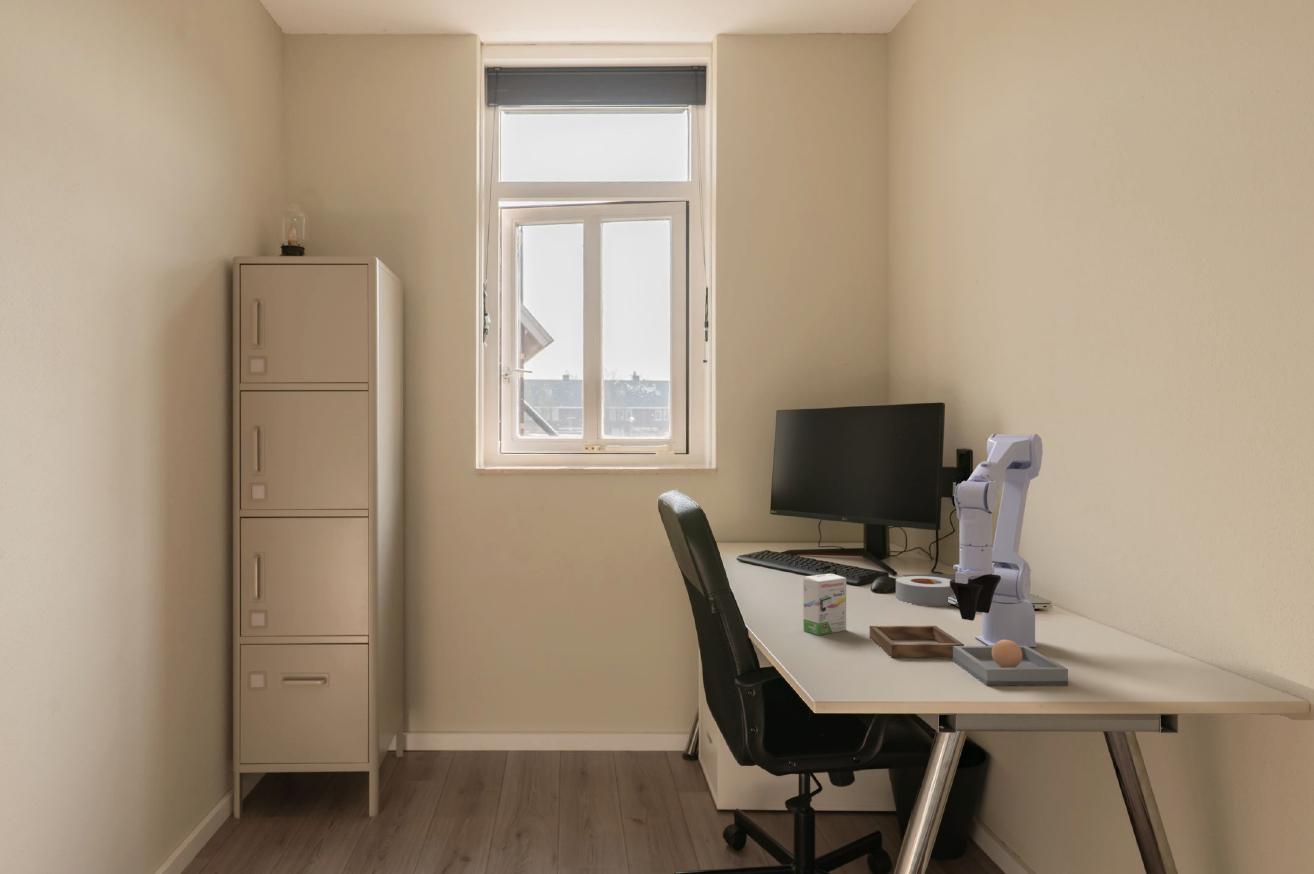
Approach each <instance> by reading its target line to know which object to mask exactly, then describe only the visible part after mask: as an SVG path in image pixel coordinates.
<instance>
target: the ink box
mask: <svg viewBox="0 0 1314 874" xmlns="http://www.w3.org/2000/svg"><path fill="white" fill-rule="evenodd" d="M802 585H803V588H802V589H803V592H802V593H803V597H802V598H803V599H802V600H803V602H802V603H803V604H802V605H803V612H802V613H803V617H802V618H803V631H804V632H807V633H810V634H813V635H817V636H822V634H823V635H829V634H834V633H837V632H838V631H839V632H844V631H847V577H844V576H842V575H838V574H835V573H825V574H815V575H807V576H805V577H803V583H802ZM839 632H838V633H839Z"/></svg>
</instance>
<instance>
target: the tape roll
mask: <svg viewBox="0 0 1314 874" xmlns="http://www.w3.org/2000/svg"><path fill="white" fill-rule="evenodd" d="M950 580H951V578H950V579H949V578H944V577H939V576H927V575H911V576H900V577H897V578H896V579H895V599H896V598H897V599H898V600H897V599H896V600H897V601H899V600H900V601H899V602H901V601H903V602H902V603H904V602H907V603H906V604H908V603H913V604H912V605H914V604H917V605H916V606H921V605H928V606H927V607H949V606H948V605H949V602H948V597H950V596H951V595H954V592H953V590H952V588H951V587H950Z"/></svg>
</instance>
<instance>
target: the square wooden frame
mask: <svg viewBox="0 0 1314 874" xmlns="http://www.w3.org/2000/svg"><path fill="white" fill-rule="evenodd" d="M911 638H912V639H911ZM913 638H915V639H913ZM916 638H917V639H916ZM869 639H870V640H871V639H872V640H871V641H873V642H874V643H875V644H876V645H877V646H878V645H879V646H878V647H879V648H880V647H881V648H882V649H883V650H882V651H883V652H885V653H886V654H887V655H888V654H889V655H888V656H889V657H890V656H891V657H953V646H965V644H964V643H962V642H961V641H960V640H958V639H957V638H955V637H953V636H952V635H951V634H949V633H948V632H946V631H944V630H943V629H941V628H940V627H938V626H937V625H869ZM893 640H934V641H935V640H936V641H935V642H932V643H931V642H927V643H925V642H924V643H923V642H919V643H918V642H917V643H916V642H915V643H914V642H913V643H911V642H910V643H907V642H905V643H904V642H902V643H898V642H897V643H895V642H894V641H893ZM881 648H880V649H881ZM891 657H890V658H891Z"/></svg>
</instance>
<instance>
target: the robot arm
mask: <svg viewBox="0 0 1314 874" xmlns="http://www.w3.org/2000/svg"><path fill="white" fill-rule="evenodd" d="M1043 452H1044V451H1043V442H1042V438H1041V436H1040V435H1039V434H1038V433H1032V434H1025V433H1024V434H1021V433H1020V434H1017V433H1015V434H1012V433H1011V434H1009V433H1006V434H1001V433H999V434H998V433H992V434H991V435H989V436H988V439H987V442H986V454H987V459H986V460H985V461H983V460H982V461H981V462H980V463H979V464H978V465H977V466H976V467H975V469H974V470H973V472H972V473H971V474H970V476H969V478H968V479H967V480H963V481H961V483H958V484H957V485H956V486H955V488H954V489H955V490H954V497H953V498H954V504H955V505H954V506H955V509H956V517H957V518H956V519H957V520H959V531H958V532H959V541H958V543H959V545H958V546H959V563H958V564H953V566H952V568H953V569H954V570H957V571H955V579H950V587H951V588H952V590H953V592H954V594H955V596H956V599H957V602H958V603H957V605H958V609H959V613H960V617H961V619H962V620H965V621H971V622H973V621H975V618H976V615H977V612H978V613H982V616H981V617H982V619H981V624H982V625H981V626H982V627H981V633H982V634H974V638H975V639H977V640H979V641H980V642H982V643H984V644H985V645H986V646H994V644H995V643H997V642H998V641H1000V640H1010V641H1013V642H1015V643H1016V644H1017V645H1018V646H1028V647H1029V648H1037V647H1038V644H1036V611H1035V608H1034V605H1033V603H1031V601H1030V600H1028V597H1029V595H1030V592H1031V584H1032V583H1031V582H1032V581H1031V571H1032V569H1031V567H1030V565H1029V563H1028V561H1026V559H1025V558H1023V556H1021V555H1019V549H1020V542H1021V537H1022V536H1021V535H1022V529H1023V523H1024V516H1025V510H1026V505H1027V504H1026V502H1027V497H1028V492H1029V487H1030V483H1031V480H1033V479H1035V478H1038V476H1040V471H1041V466H1042V459H1043V454H1044V453H1043ZM1001 488H1002V492H1001V499H1000V505H999V511H998V516H997V521H996V529H995V533H994V535H995V536H994V540H993V513H994V511H996V508H997V503H998V499H999V491H1000V489H1001Z"/></svg>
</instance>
